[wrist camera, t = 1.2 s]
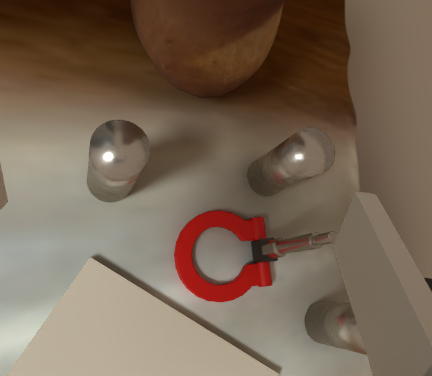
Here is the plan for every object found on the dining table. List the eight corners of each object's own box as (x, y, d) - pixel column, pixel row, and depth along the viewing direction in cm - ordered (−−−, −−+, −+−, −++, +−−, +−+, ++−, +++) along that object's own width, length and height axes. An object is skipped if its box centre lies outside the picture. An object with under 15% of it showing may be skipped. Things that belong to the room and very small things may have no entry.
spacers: (81, 164, 33) (82, 125, 25) (268, 125, 41) (316, 85, 33) (158, 432, 30) (189, 488, 22) (343, 333, 38) (417, 347, 30)
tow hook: (176, 307, 33) (270, 294, 36) (220, 320, 21) (354, 300, 24) (170, 214, 35) (259, 210, 38) (206, 179, 23) (333, 176, 26)
